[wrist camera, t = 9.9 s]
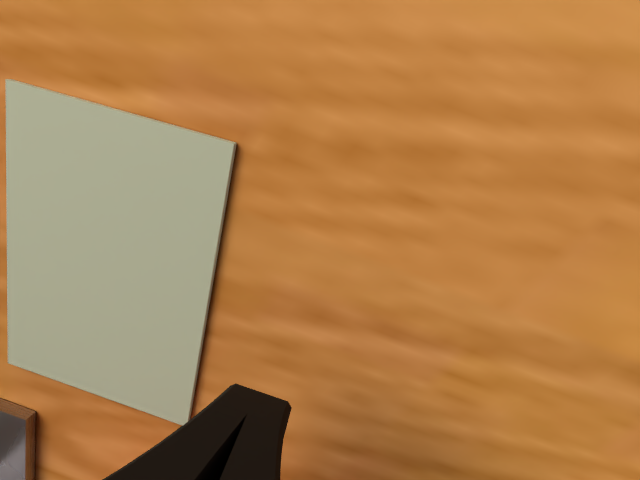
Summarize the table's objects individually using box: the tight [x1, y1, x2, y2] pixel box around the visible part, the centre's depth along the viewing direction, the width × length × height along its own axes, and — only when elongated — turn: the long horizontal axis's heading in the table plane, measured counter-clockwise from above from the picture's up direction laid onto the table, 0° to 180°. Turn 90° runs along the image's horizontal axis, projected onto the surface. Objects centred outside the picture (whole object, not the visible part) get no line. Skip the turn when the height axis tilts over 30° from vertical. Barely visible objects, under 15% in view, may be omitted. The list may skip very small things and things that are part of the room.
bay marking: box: [6, 79, 237, 425], centre depth 15 cm, size 10×7×1 cm
